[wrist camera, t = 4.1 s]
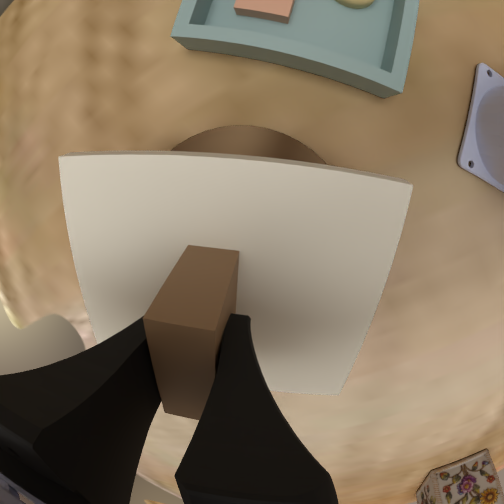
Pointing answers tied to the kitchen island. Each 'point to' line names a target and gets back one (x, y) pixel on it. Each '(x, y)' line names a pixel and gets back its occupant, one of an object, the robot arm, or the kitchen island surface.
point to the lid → (232, 260)
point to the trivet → (249, 144)
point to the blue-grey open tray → (309, 36)
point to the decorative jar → (463, 483)
